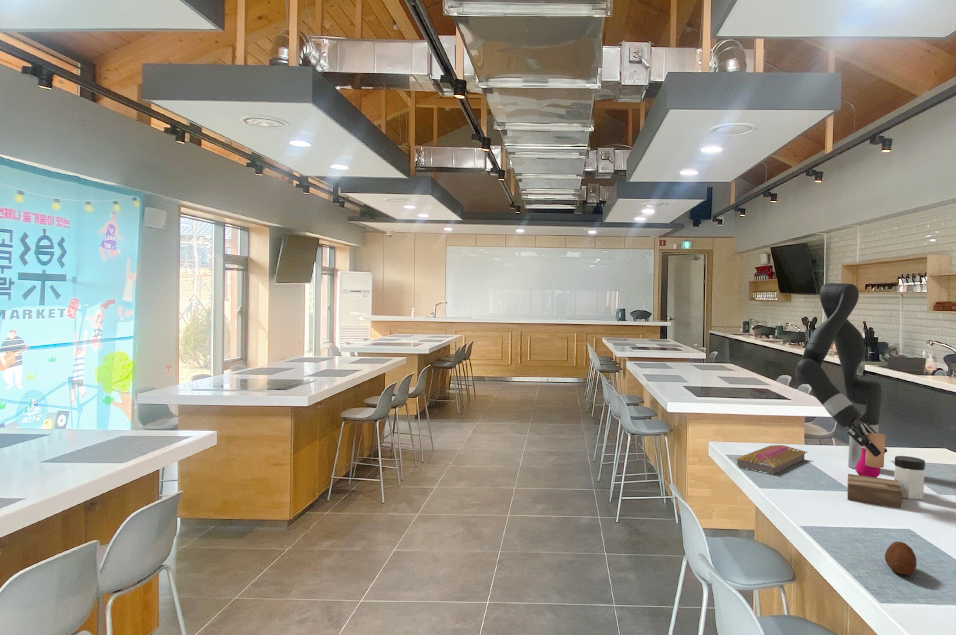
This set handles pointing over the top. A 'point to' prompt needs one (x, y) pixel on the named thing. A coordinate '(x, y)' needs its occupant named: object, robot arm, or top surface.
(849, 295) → the robot arm
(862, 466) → the pepper mill
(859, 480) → the base block
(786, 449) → the slab with pink ridge
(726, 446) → the top surface
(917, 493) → the jar
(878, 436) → the post
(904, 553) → the potato
